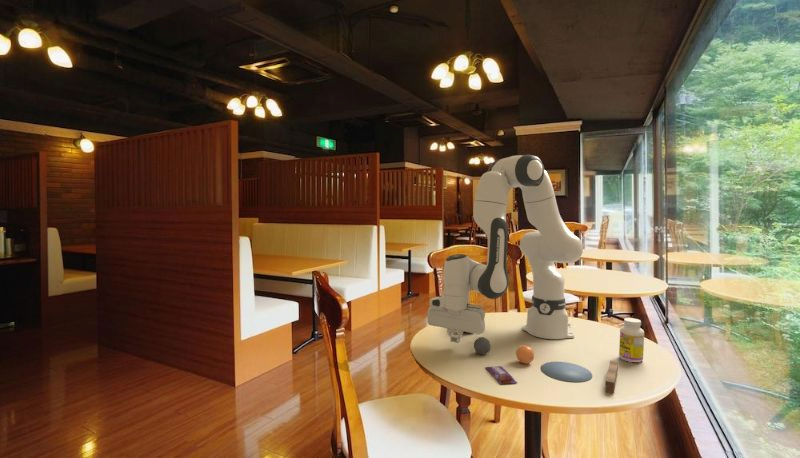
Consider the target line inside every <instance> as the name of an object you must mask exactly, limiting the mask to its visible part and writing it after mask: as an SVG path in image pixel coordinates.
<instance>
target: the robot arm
mask: <svg viewBox="0 0 800 458" xmlns="http://www.w3.org/2000/svg"><path fill="white" fill-rule="evenodd" d="M512 188H514V189H515V188H519V189H521V194H522V199H523V204H524V209H525V213H526V217H527V220H528V222H529V223H530V224H531V225H532V226H533V227H535V229H536V231H529V232H526V233H524V234H523V235H522V236H521V238H520V241H519V250H520V251H521V253H522V254H523V255H524V256H525V258H526V259H527V262H528V263H529V266H530V269H531V273H532V281H533V282H532V283H533V286H532V287H533V292H532V294H533V295H532V296H531V307H530V308H529V309H527V313H526V315H527V318H526V324H525V325H523V326H522V330H523V331H524V332H527V333H528V334H529V335H532V336H533V337H537V338H541V339H546V340H562V339H574V338H575V332H574V328H573V324H571V323H570V322H569V314H568V312H567V310H566V298H565V277H564V275H563V274H562V273H561V272H560V271H559V270H558V267H556V265H555V263H559V264H570V263H576V262H578V261H579V259H581V257H582V255H583V254H584V253H583V252H584V246H583V243H582V240H581V239H580V238H579V237H578V236H576V235H575V234H574V233H573V232H572V231H571V230H570V229H569V228H568V226H567V225H566V224H565V222H564V220H563V218H562V215H560V214H561V213H560V211H559V207H558V203H557V199H556V195H555V190H554V186H553V183H552V180H551V178H550V175H549V174H548V172H547V170H545V167H544V164H543V162H542V160H541V159H540V158H539V157H538V156H536V155H532V154H523V155H521V154H519V155H511V156H508V157H504V158H499V159H496V160H494V161H493V162H492V163H491V164H490V166H489V167H488V170H487V171H486V172H484V173H482V175H481V177H480V179H479V181H478V185H477V188H476V191H475V195H474V196H475V198H474V203H473V210H472V211H473V220H474V222H475V224H477V226H479V228H480V229H481V230H482V231H483V232H484V233H485V236H486V237H487V256H486V257H487V258H486V259H487V260H486V264H484V263H481V262H479V261H476V260H474V259H472V258H470V257H469V256H468V255H467V254H463V253H461V254H460V253H459V254H452V255H449V256H448V257H446V259H445V261H444V265H443V274H442V275H443V276H442V278H443V279H442V282H443V291H442V295H439V296H436V297H433V298H430V299H429V307H428V309H427V317H426V322H427V324H428V325H429V326H433V327H439V328H444V329H446V330H447V331H446V332H447V334H448V335H449V337H450V338H449V341H450V342H451V343H457V344H459V343H460V342H461V337H462V335H463V331H464V332H469V333H471V334H476V335H481V334H483V333H484V332H485V330H486V322H485V321H486V320H485V316H486V310H485V309H484V307H482V306H481V305H478V304H477V305H476V304H472V303H471V304H470V292H471V291H474V292H477V293H479V294H481V295H483V296H484V297H485V298H487V299H490V300H495V299H499V298H501V297H503V295H505V294H506V292H507V290H508V288H509V286H510V285H509V284H510V281H509V273H508V267H507V266H508V265H507V264H508V263H507V262H508V261H507V260H508V245H509V244H508V242H509V241H508V240H509V229H508V224H507V207H508V198H509V193H510V190H511V189H512ZM453 331H456V333H457V335H454V332H453Z"/></svg>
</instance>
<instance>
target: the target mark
mask: <svg viewBox="0 0 800 458" xmlns="http://www.w3.org/2000/svg"><path fill="white" fill-rule="evenodd" d="M540 369H541V370H540V371H541V372H542V373H543V374H545V375H546V376H548V377H550V378H552V379H554V380H558V381H562V382H569V383H585V382H587V381H590V380H592V378H593V373H592V371H590V370H589V369H588V368H586V367H584V366H582V365H580V364H579V365H578V364H576V363H572V362H567V361H547V362H545V363H543V364H541V366H540Z"/></svg>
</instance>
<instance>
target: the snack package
mask: <svg viewBox="0 0 800 458" xmlns="http://www.w3.org/2000/svg"><path fill="white" fill-rule="evenodd" d="M485 369H486V370H487V371H488V372H489V373H490V375H492V376H493V377H494V378H495V380H497V382H498V383H499V385H508V384H509V385H510V384H518V382H517V381H516V380H515V379H514V377H513V376H512V375H511V374H510V373H509V372H508V371H507V370H506V369H505V368H504V367H503V366H501V365H497V366H485Z"/></svg>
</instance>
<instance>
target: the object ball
mask: <svg viewBox="0 0 800 458" xmlns="http://www.w3.org/2000/svg"><path fill="white" fill-rule="evenodd" d="M515 356H516V357H515V358H517V360H518V361H519V362H520V363H522V364H525V365H526V364H527V365H528V364H530V363H532V362H533V361H534V359H535V352H534V349H533V348H532V347H531V346H529V345H525V344H524V345H520V346H518V348H517V349H516V351H515Z"/></svg>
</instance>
